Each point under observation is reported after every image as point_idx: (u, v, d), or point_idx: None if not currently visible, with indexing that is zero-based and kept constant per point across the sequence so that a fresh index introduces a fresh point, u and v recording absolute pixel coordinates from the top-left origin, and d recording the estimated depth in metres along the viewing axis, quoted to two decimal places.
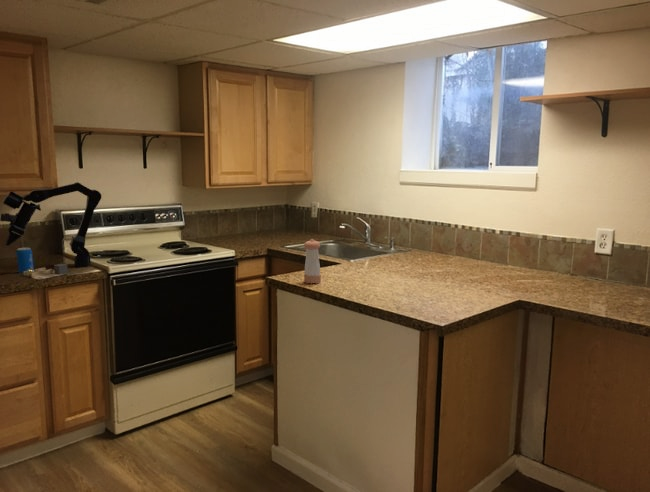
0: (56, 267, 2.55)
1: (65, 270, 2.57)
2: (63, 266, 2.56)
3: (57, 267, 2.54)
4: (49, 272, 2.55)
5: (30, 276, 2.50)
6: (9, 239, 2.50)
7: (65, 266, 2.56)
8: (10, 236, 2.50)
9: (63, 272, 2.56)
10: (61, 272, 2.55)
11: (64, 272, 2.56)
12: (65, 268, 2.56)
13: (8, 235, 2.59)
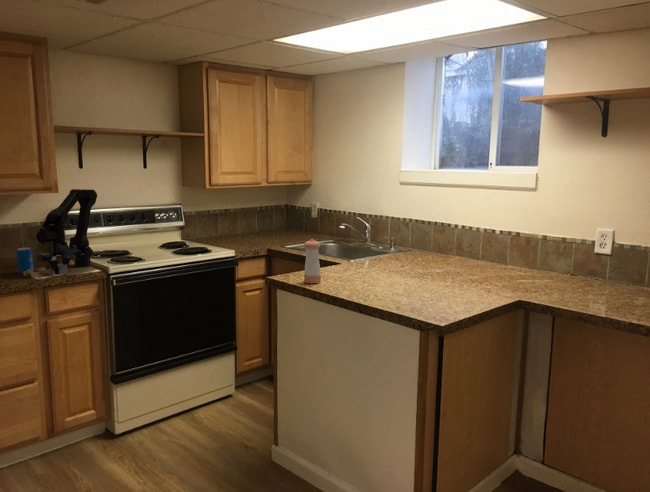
0: None
1: (65, 270, 2.57)
2: (63, 266, 2.56)
3: None
4: (49, 272, 2.55)
5: (30, 276, 2.50)
6: None
7: (65, 266, 2.56)
8: None
9: (63, 272, 2.56)
10: (61, 272, 2.55)
11: (64, 272, 2.56)
12: (65, 268, 2.56)
13: (57, 267, 2.54)
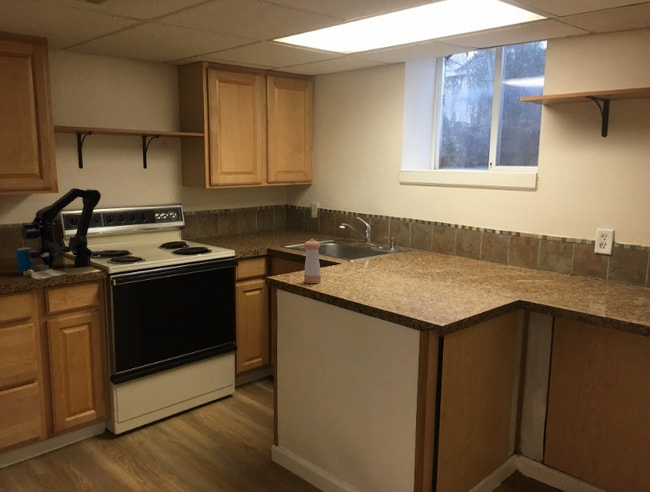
0: (37, 267, 2.54)
1: None
2: (44, 266, 2.55)
3: (38, 267, 2.54)
4: (49, 272, 2.55)
5: (30, 276, 2.50)
6: None
7: (46, 266, 2.56)
8: None
9: None
10: None
11: None
12: (46, 268, 2.56)
13: (50, 263, 2.58)
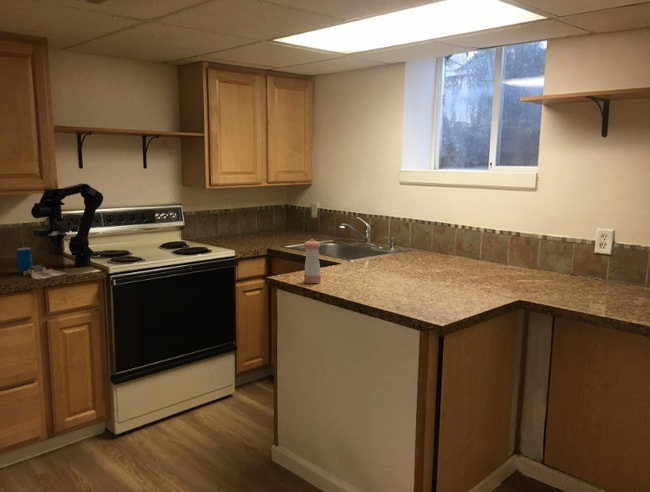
0: (31, 269, 2.52)
1: None
2: (38, 268, 2.52)
3: (32, 269, 2.51)
4: (49, 272, 2.55)
5: (30, 276, 2.50)
6: None
7: (40, 268, 2.53)
8: None
9: None
10: None
11: None
12: (40, 270, 2.53)
13: (58, 243, 2.56)
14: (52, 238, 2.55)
